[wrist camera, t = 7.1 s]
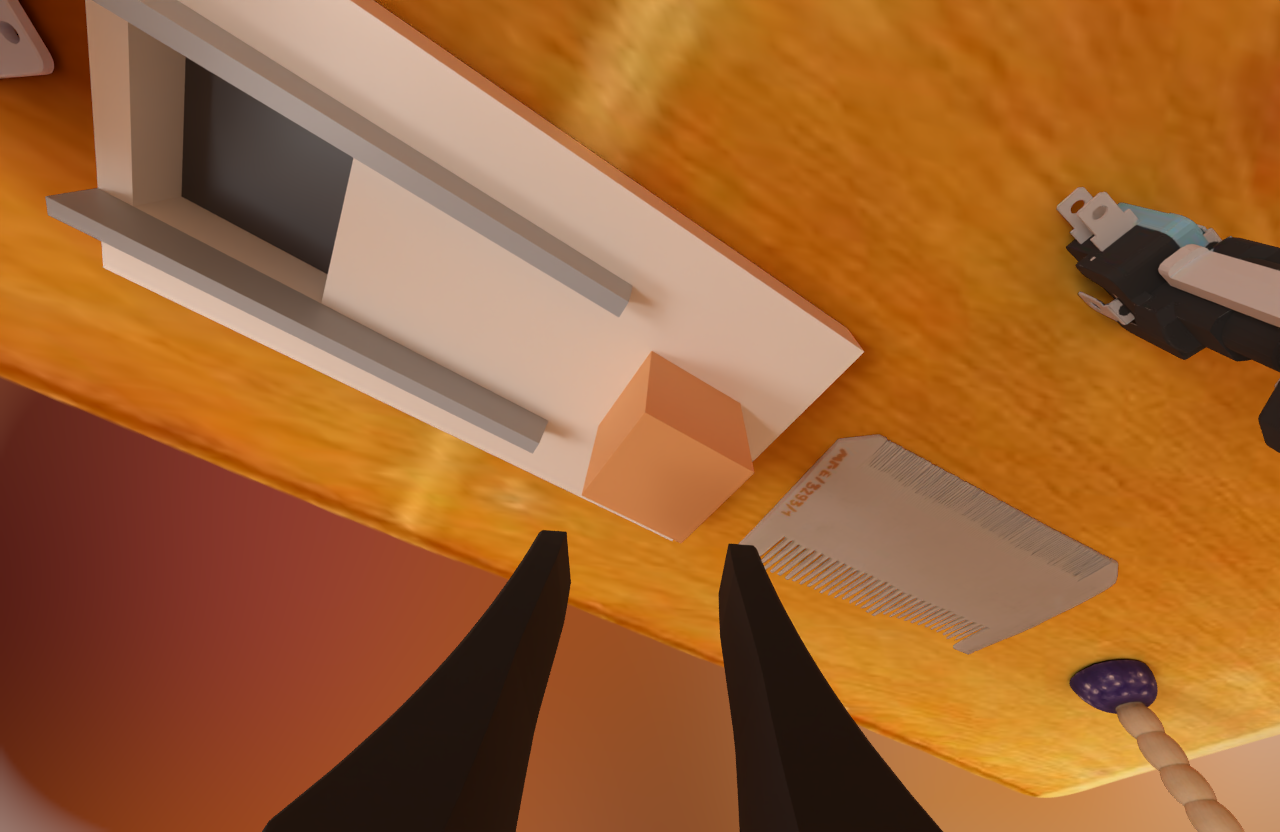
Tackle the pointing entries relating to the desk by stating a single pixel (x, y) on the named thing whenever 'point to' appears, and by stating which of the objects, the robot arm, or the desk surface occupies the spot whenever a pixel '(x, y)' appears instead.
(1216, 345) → the push button
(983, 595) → the grooming comb
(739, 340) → the trough
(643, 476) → the block
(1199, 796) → the toy lamp
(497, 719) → the robot arm
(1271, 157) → the desk surface
